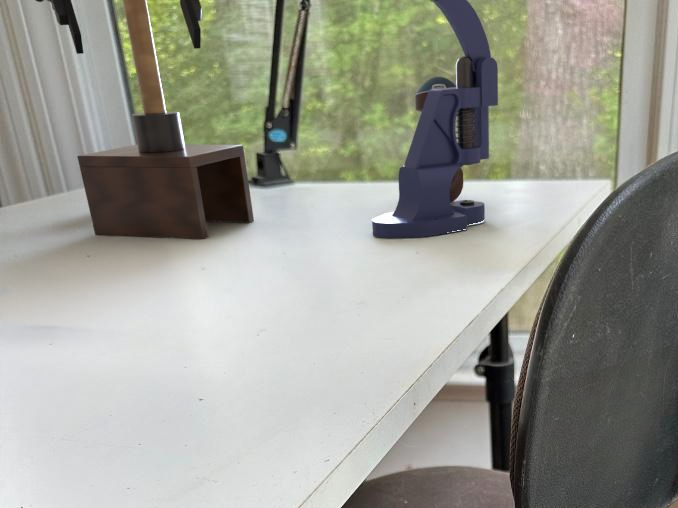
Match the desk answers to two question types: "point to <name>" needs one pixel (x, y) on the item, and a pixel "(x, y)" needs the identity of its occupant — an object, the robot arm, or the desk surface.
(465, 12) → the hand press
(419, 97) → the headphones
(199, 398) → the desk surface
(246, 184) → the shelf
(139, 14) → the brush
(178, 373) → the desk surface
